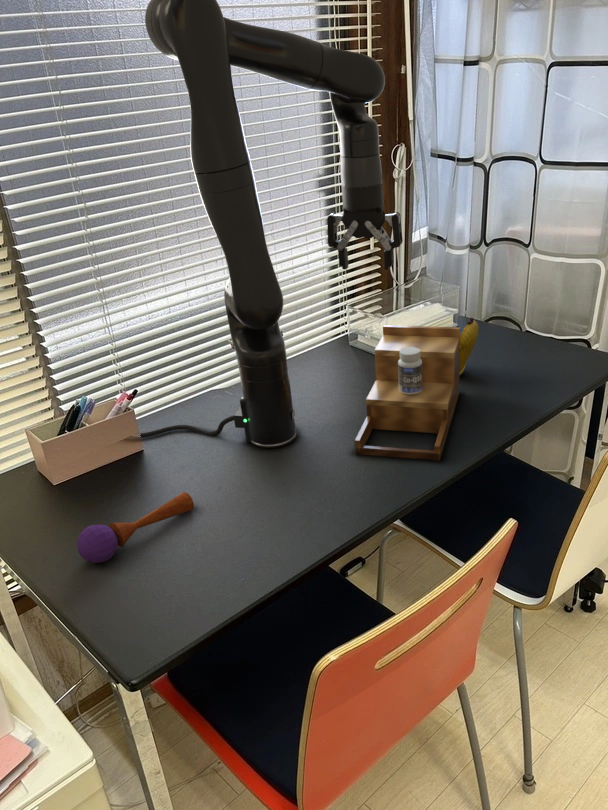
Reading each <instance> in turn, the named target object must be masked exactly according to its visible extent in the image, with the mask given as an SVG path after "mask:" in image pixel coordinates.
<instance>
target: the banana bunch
mask: <svg viewBox="0 0 608 810" xmlns="http://www.w3.org/2000/svg"><path fill="white" fill-rule="evenodd" d="M479 330H480V329H479V324H478V322H477V321H476V320H475V319H474V317H473V316H471V317H470V318H469V320H468V321H467V323H466V325H465V326H464V328H463V329H462V331H461V332H460V369H459V377H461V376H462V374H463V373H464V372H465V369H466V367H467V362H468V360H469V358H470V356H471V355H472V352H473V350H474V347H475V345H476V343H477V340H478V336H479Z"/></svg>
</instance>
